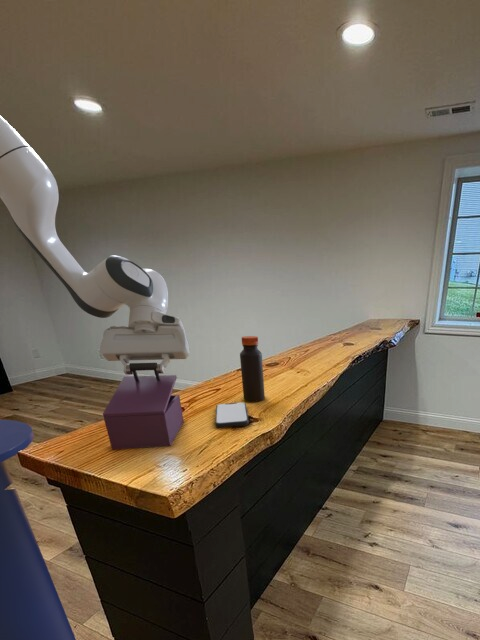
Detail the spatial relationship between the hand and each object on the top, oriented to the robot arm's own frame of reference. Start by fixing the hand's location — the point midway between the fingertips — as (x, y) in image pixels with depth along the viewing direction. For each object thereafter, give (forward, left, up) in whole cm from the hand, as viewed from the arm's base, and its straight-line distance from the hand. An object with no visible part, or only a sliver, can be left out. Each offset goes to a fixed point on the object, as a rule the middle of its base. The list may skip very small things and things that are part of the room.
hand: (144, 372), depth 85 cm
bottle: (+25, +22, -15) cm, 37 cm away
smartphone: (+19, +6, -15) cm, 25 cm away
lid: (0, -4, -5) cm, 6 cm away
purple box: (0, -4, -15) cm, 15 cm away
